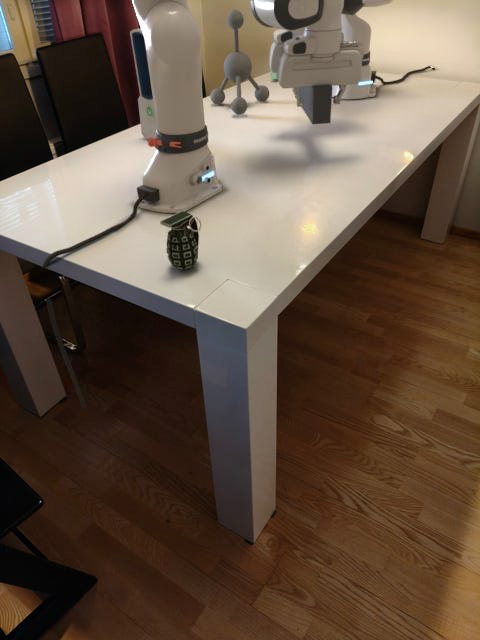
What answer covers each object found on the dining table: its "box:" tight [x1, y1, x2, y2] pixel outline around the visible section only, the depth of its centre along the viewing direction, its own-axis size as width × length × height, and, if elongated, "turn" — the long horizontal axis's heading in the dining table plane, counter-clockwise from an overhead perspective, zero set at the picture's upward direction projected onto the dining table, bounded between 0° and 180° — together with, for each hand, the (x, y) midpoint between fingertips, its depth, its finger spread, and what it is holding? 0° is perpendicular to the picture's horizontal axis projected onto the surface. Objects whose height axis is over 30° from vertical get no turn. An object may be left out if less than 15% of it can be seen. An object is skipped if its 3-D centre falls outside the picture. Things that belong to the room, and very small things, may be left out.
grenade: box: [159, 211, 202, 271], centre depth 88 cm, size 7×6×10 cm
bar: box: [294, 85, 333, 125], centre depth 131 cm, size 27×5×9 cm, turn 4°
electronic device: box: [129, 27, 158, 140], centre depth 143 cm, size 12×8×30 cm, turn 47°
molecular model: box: [209, 9, 270, 116], centre depth 169 cm, size 24×22×30 cm
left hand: (318, 104), depth 123 cm, fingers open, 8 cm apart
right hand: (304, 87), depth 139 cm, fingers closed on bar, 4 cm apart
